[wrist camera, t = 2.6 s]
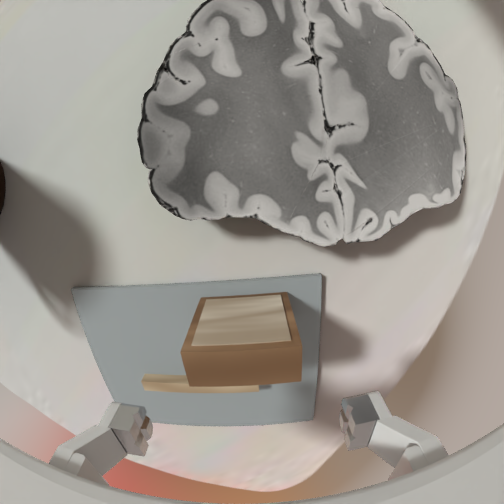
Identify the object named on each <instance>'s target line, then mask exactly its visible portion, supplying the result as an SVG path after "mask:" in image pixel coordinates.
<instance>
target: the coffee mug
mask: <svg viewBox="0 0 504 504" xmlns="http://www.w3.org/2000/svg"><path fill="white" fill-rule="evenodd" d="M4 199H5V176H4V171H3V167H2V164H1V162H0V213H1V211H2V208H3V204H4Z"/></svg>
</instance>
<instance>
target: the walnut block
mask: <svg viewBox="0 0 504 504" xmlns="http://www.w3.org/2000/svg"><path fill="white" fill-rule="evenodd" d="M180 353H181V357H182V361H183V365H184V368H185V372H186V376H187V379H188V383H189V386H190V387H225V386H252V385H267V384H280V383H290V382H300V381H301V380H302V342H301V339H300V335H299V332H298V328H297V325H296V321H295V318H294V314H293V311H292V307H291V304H290V301H289V297H288V294H287V292H277V293H264V294H251V295H235V296H219V297H201V298H200V301H199V303H198V306H197V308H196V311H195V314H194V316H193V319H192V322H191V324H190V327H189V330H188V332H187V335H186V338H185V341H184V343H183V346H182V349H181V352H180Z"/></svg>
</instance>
